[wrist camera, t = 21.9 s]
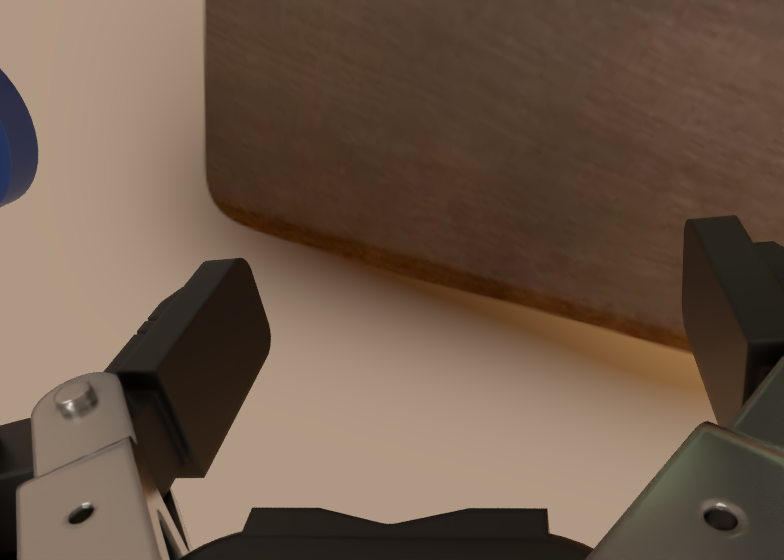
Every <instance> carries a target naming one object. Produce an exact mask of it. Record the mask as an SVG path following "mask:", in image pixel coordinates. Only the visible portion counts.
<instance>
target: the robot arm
mask: <svg viewBox="0 0 784 560" xmlns="http://www.w3.org/2000/svg"><path fill="white" fill-rule="evenodd" d="M682 312H683V321H684V327H685V331H686V335H687V338H688V341H689V344H690V346H691V349H692V352H693V355H694V358H695V361H696V363H697V366H698V369H699V372H700V375H701V377H702V380H703V383H704V386H705V389H706V392H707V395H708V397H709V400H710V403H711V405H712V409H713V411H714V414H715V417H716V420H717V423H718V425H716V424H714V423H711V422H708V421H707V422H703V423H701V424H700V425H699V426H697V427H696V428H695V430H694V431H693V432H692V433H691V434H690V435H689V436H688V438H687V439H686V440H685V441H684V442H683V444H682V445H681V446H680V447H679V448H678V450H677V451H676V452H675V453H674V454H673V455H672V457H671V458H670V459H669V460H668V461H667V463H666V464H665V465H664V466H663V468H662V469H661V470H660V471H659V472H658V473H657V475H656V476H655V477H654V478H653V479H652V480H651V482H650V483H649V484H648V485H647V486H646V488H645V489H644V490H643V491H642V492H641V494H640V495H639V496H638V497H637V498H636V499H635V501H634V502H633V503H632V504H631V505H630V507H629V508H628V509H627V510H626V512H625V513H624V514H623V515H622V516H621V518H620V519H619V520H618V521H617V522H616V523H615V525H614V526H613V527H612V528H611V529H610V530H609V532H608V533H607V534H606V535H605V536H604V538H603V539H602V540H601V541H600V542H599V543H598V545H597V546H596V547H595V548H594V549H593V548H591V547H589V546H587V545H585V544H583V543H580V542H577V541H574V540H571V539H568V538H566V537H562V536H557V535H554V534H550V532H549V523H548V512H547V509H526V508H525V509H524V508H523V509H522V508H514V509H513V508H511V509H510V508H506V509H505V508H468V509H464V510H458V511H454V512H449V513H444V514H439V515H434V516H430V517H425V518H420V519H415V520H410V521H406V522H401V523H395V524H384V523H379V522H374V521H371V520H367V519H363V518H358V517H354V516H350V515H346V514H342V513H338V512H334V511H330V510H326V509H322V508H252V509H251V512H250V514H249V517H248V519H247V521H246V524H245V526H244V529H243V531H242V532H238V533H234V534H231V535H228V536H225V537H221V538H219V539H216V540H214V541H211V542H209V543H207V544H204V545H202V546H201V547H199V548H197V549H195V550H193V549H192V546H191V543H190V540H189V537H188V534H187V531H186V527H185V524H184V522H183V518H182V515H181V512H180V509H179V506H178V503H177V500H176V498H175V496H174V494H173V492H172V489H171V485H172V483H173V481H174V480H175V478H204V477H205V475H206V473H207V471H208V470H209V468H210V466H211V464H212V462H213V460H214V458H215V456H216V454H217V452H218V450H219V448H220V447H221V445H222V442H223V441H224V439H225V437H226V435H227V433H228V431H229V429H230V427H231V425H232V423H233V422H234V419H235V418H236V416H237V414H238V412H239V410H240V408H241V406H242V404H243V402H244V400H245V398H246V396H247V395H248V393H249V391H250V389H251V387H252V385H253V383H254V381H255V379H256V377H257V375H258V373H259V371H260V369H261V368H262V366H263V364H264V362H265V360H266V358H267V356H268V354H269V350H270V343H271V334H270V328H269V323H268V320H267V317H266V314H265V310H264V308H263V304H262V301H261V298H260V295H259V292H258V289H257V286H256V283H255V280H254V277H253V274H252V271H251V268H250V266H249V264H248V262H247V261H246V260H244V259H243V258H235V259H223V260H212V261H205V262H203V264H201V266H200V267H199V268H198V269H197V271H196V272H195V273H194V274H193V276H192V277H191V278H190V279H189V281H188V282H187V283H186V284H185V286H184V287H182V288H181V289H179V290H178V291H176V292H175V293H173V294H172V295H171V296H169V297H168V298H166V299H165V300H164V301H162V302H161V303H160V304H159V305H158V307H157V308H156V309H155V310H154V311H153V313H152V314H151V315H150V316H149V318H148V321H145V322H144V323H143V325H142V326H141V327H140V328H139V330H138V331H137V335H134V336H133V337H132V338H131V339H130V341H129V342H128V343H127V344H126V345H125V346H124V348H123V349H122V350H121V351H120V353H119V354H118V355H117V356H116V357H115V358H114V360H113V361H112V362H111V363H110V364H109V366H108V367H107V368H106V369H105V371H104V372H96V373H89V374H85V375H82V376H78V377H76V378H73V379H71V380H68V381H66V382H64V383H63V384H61V385H59V386H57V387H56V388H54V389H53V390H51V391H50V392H49V393H47V394H46V395H45V396H44V397H43V398H42V399H41V400H40V401H39V402H38V403H37V404H36V406H35V407H34V409H33V411H32V414H31V418H28V419H24V420H20V421H16V422H12V423H8V424H5V425H0V560H784V247H782V246H780V245H779V244H777V243H775V242H773V241H771V242H758V243H753V242H752V240H751V238H750V237H749V235H748V234H747V232H746V230H745V229H744V227H743V226H742V224H741V222H740V221H739V219H738V218H737V216H735V215H732V216H720V217H709V218H698V219H688V220H687V221H686V223H685V228H684V249H683V281H682Z"/></svg>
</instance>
